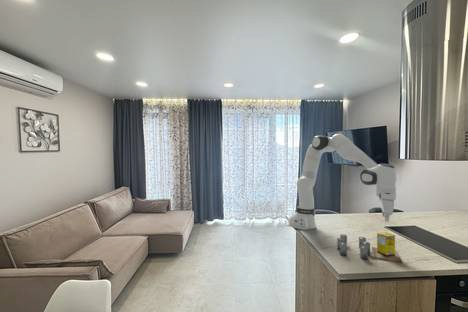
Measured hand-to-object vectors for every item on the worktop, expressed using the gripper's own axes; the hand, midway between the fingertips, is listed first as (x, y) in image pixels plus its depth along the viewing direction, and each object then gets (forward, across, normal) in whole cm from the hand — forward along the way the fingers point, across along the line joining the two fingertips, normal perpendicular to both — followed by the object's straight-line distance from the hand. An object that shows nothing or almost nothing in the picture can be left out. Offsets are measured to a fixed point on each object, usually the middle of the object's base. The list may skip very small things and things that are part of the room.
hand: (385, 218), depth 124 cm
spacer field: (+20, +2, -15) cm, 26 cm away
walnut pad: (+20, 0, +1) cm, 20 cm away
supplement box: (+20, 0, +1) cm, 20 cm away
